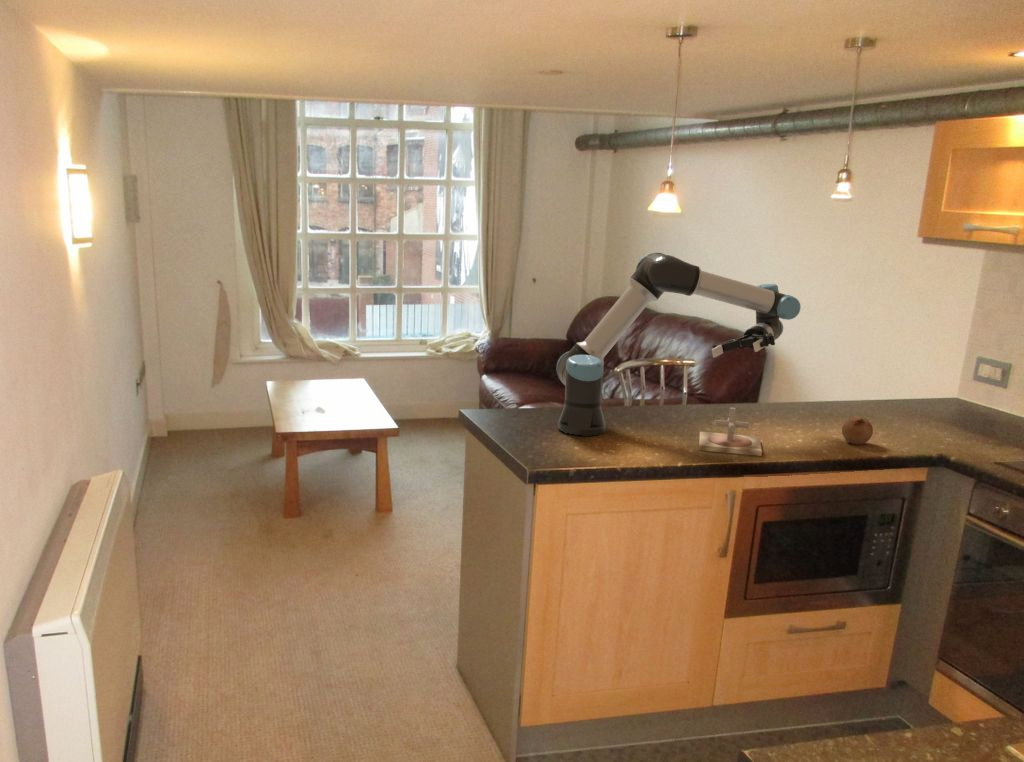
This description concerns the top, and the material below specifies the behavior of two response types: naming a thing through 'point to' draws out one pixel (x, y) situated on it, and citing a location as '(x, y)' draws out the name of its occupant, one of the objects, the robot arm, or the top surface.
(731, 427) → the grey toy jack
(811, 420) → the top surface
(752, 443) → the board
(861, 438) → the onion
